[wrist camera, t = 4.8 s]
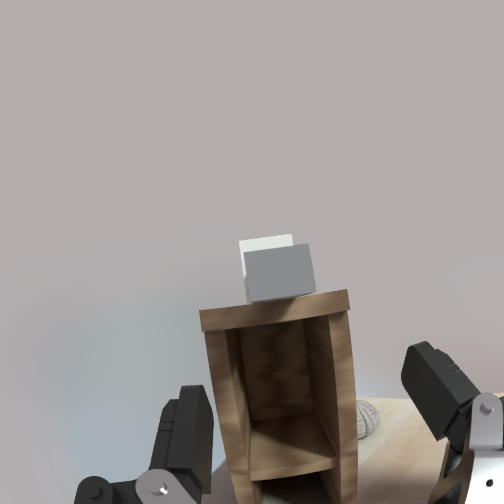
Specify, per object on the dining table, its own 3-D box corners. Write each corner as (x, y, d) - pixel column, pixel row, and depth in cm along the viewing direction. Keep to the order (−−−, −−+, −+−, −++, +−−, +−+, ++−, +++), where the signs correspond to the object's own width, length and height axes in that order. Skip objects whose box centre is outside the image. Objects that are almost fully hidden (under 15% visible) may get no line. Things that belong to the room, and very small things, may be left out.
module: (287, 300, 37) (281, 256, 38) (324, 290, 16) (307, 197, 17) (250, 305, 37) (244, 261, 38) (241, 303, 16) (229, 207, 17)
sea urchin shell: (315, 428, 54) (312, 400, 56) (367, 414, 55) (366, 386, 56) (330, 452, 41) (328, 420, 43) (391, 433, 42) (391, 401, 43)
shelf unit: (325, 459, 39) (308, 297, 45) (356, 525, 19) (347, 288, 25) (251, 471, 39) (225, 309, 45) (247, 543, 19) (199, 310, 25)
